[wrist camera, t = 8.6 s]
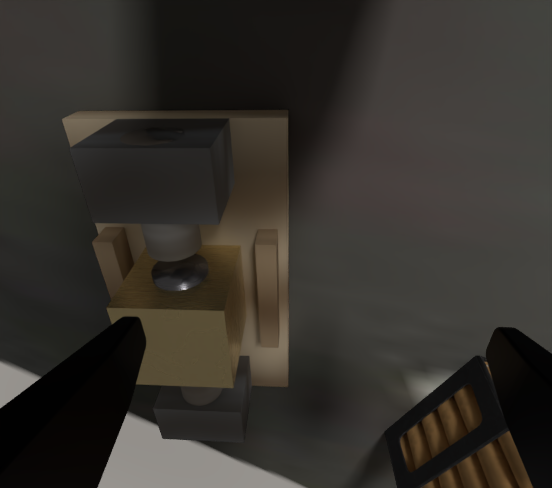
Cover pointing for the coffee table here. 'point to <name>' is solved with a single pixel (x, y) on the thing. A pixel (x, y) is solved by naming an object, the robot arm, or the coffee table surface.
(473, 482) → the ammunition clip
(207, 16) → the coffee table surface
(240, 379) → the shaft stand
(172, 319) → the block
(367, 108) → the coffee table surface
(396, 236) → the coffee table surface
